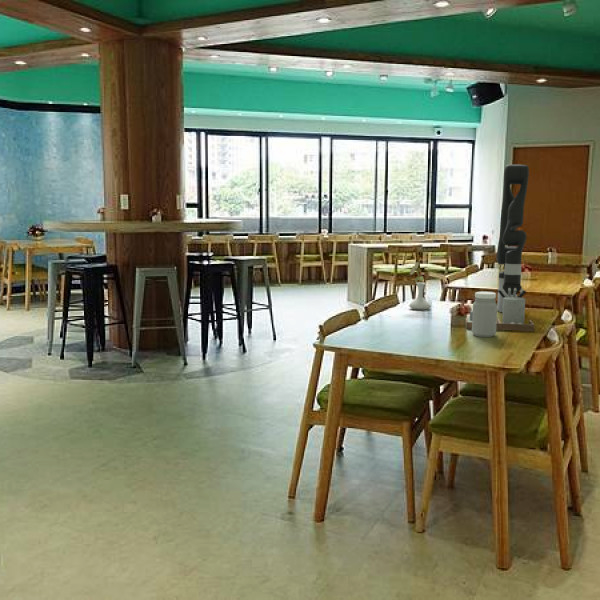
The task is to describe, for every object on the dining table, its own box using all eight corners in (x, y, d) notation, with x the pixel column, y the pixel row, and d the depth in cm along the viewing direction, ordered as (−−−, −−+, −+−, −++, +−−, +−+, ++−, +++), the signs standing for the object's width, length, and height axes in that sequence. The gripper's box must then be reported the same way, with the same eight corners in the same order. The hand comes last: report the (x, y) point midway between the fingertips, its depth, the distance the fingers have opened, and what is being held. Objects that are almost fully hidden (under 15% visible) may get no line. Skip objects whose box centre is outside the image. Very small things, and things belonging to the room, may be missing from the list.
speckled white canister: (521, 323, 299) (522, 296, 297) (526, 327, 289) (527, 300, 287) (500, 322, 300) (501, 296, 298) (504, 326, 290) (505, 299, 288)
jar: (500, 337, 268) (502, 294, 265) (478, 338, 266) (479, 294, 264) (489, 332, 278) (490, 290, 275) (467, 333, 276) (469, 291, 273)
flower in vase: (418, 306, 346) (419, 260, 343) (435, 309, 338) (437, 261, 334) (402, 309, 338) (403, 261, 334) (419, 312, 329) (420, 263, 326)
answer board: (465, 324, 296) (465, 316, 296) (530, 326, 290) (531, 319, 290) (466, 329, 284) (466, 321, 284) (534, 331, 278) (534, 324, 278)
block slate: (470, 318, 312) (471, 310, 311) (479, 319, 310) (479, 310, 310) (469, 319, 308) (470, 311, 307) (478, 320, 306) (478, 312, 306)
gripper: (526, 272, 305) (524, 309, 307) (497, 272, 308) (495, 308, 310) (528, 274, 298) (526, 311, 300) (498, 273, 300) (496, 310, 303)
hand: (510, 309), depth 305 cm, fingers closed
